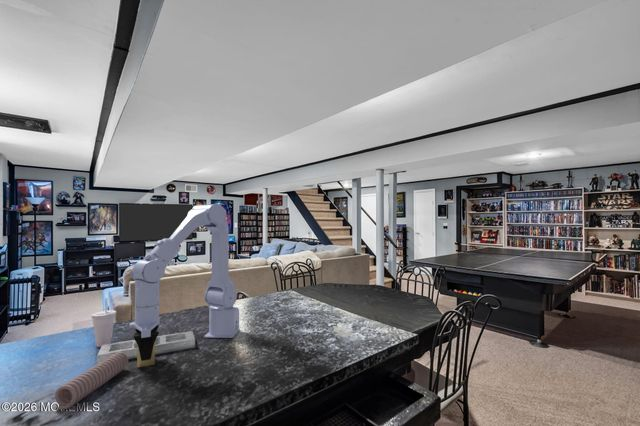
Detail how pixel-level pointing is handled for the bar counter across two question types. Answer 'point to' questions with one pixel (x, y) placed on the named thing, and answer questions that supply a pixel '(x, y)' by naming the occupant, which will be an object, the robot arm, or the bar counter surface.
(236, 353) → the bar counter surface
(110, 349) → the rail
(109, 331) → the smoothie
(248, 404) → the bar counter surface
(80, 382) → the coil
